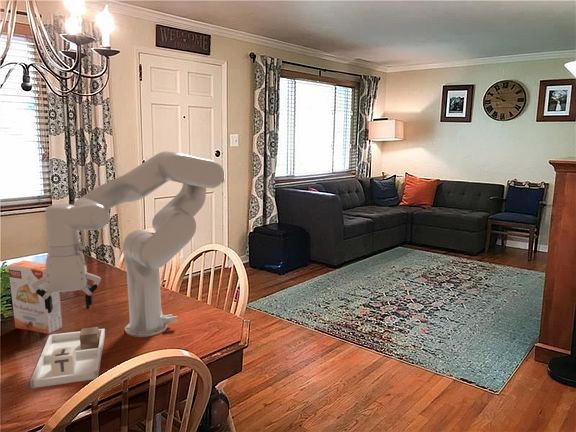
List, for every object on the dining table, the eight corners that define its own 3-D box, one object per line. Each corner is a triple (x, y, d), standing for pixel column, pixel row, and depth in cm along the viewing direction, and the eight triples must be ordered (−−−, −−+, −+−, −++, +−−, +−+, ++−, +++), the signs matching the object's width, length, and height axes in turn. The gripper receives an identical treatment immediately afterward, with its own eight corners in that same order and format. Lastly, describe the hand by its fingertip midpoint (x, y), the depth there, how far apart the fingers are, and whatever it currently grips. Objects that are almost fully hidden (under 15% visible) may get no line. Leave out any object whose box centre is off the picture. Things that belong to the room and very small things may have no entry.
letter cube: (76, 364, 122) (74, 346, 121) (73, 373, 117) (72, 355, 116) (55, 366, 121) (53, 348, 120) (52, 376, 116) (50, 358, 115)
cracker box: (14, 329, 144) (6, 264, 140) (30, 321, 149) (24, 259, 145) (47, 336, 139) (41, 270, 135) (63, 328, 144) (58, 264, 140)
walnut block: (99, 341, 135) (98, 326, 134) (98, 348, 131) (96, 333, 130) (82, 343, 134) (81, 328, 133) (80, 350, 130) (79, 335, 129)
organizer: (105, 335, 140) (104, 328, 139) (98, 380, 115) (97, 372, 115) (50, 342, 135) (49, 334, 135) (30, 390, 111) (29, 381, 110)
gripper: (99, 244, 131) (103, 301, 134) (31, 248, 126) (37, 307, 129) (97, 251, 124) (101, 311, 127) (25, 256, 119) (31, 318, 122)
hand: (69, 309), depth 128 cm, fingers open, 9 cm apart
